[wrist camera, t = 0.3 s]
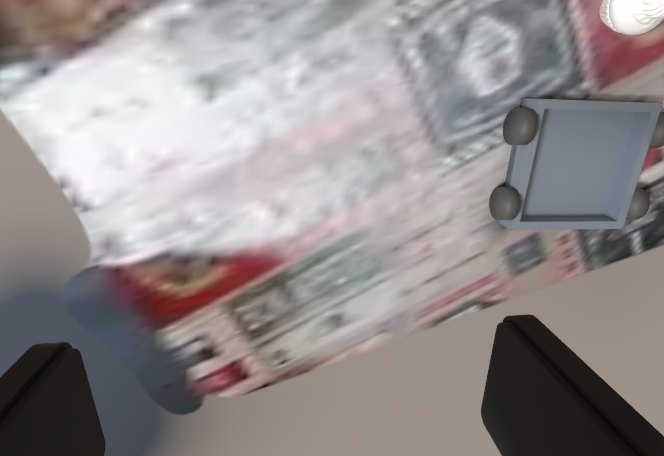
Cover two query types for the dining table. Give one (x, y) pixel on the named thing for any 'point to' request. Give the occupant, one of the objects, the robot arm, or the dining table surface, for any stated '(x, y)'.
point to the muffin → (632, 15)
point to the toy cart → (576, 163)
